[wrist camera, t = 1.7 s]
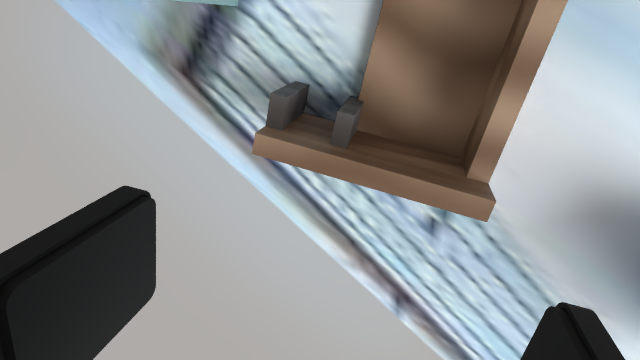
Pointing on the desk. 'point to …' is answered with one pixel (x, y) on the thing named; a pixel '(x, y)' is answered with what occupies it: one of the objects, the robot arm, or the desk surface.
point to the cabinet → (424, 102)
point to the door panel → (214, 2)
